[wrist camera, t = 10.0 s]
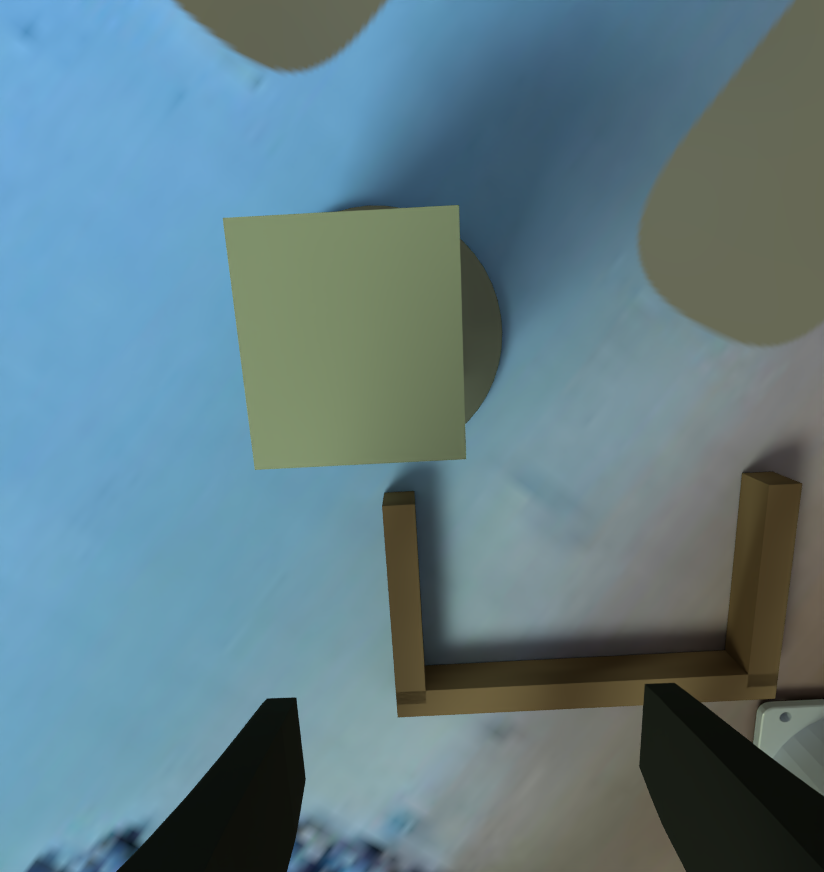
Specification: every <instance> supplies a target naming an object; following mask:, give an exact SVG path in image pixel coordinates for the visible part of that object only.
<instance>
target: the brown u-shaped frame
mask: <svg viewBox="0 0 824 872" xmlns="http://www.w3.org/2000/svg"><path fill="white" fill-rule="evenodd" d="M801 490H802V483H800V482H797V481H795V480H792V479H790V478H787V477H785V476H782V475H780V474H777V473H775V472H755V473H742V480H741V490H740V500H739V511H738V521H737V531H736V541H735V552H734V562H733V572H732V583H731V593H730V603H729V614H728V624H727V634H726V644H725V650H722V651H702V652H682V653H663V654H643V655H623V656H604V657H584V658H564V659H544V660H525V661H505V662H485V663H465V664H446V665H426V666H425V665H424V648H423V631H422V614H421V596H420V579H419V562H418V545H417V527H416V510H415V493H414V491H405V492H387V493H384V498H383V504H382V510H383V524H384V537H385V551H386V564H387V578H388V591H389V605H390V618H391V632H392V645H393V659H394V673H395V686H396V700H397V713H398V717H414V716H434V715H455V714H475V713H495V712H515V711H535V710H555V709H575V708H596V707H616V706H636V705H643V702H644V687H645V684H654V683H676V684H677V685H678V686H680V687H681V688H682V689H684V690H685V691H686V692H688V693H689V694H690V695H692V696H693V697H694V698H695V699H697V700H698V701H699V702H716V701H737V700H757V699H775V696H776V688H777V680H778V672H779V664H780V656H781V648H782V640H783V632H784V624H785V616H786V609H787V601H788V593H789V585H790V577H791V569H792V561H793V553H794V545H795V537H796V529H797V521H798V513H799V505H800V498H801Z"/></svg>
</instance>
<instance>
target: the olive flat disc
mask: <svg viewBox="0 0 824 872" xmlns="http://www.w3.org/2000/svg"><path fill="white" fill-rule="evenodd" d="M379 209H397V207H390V206H362V207H354V208H349V209H345V210H342V211H338V212H343V211H361V210H379ZM460 263H461V298H462V334H463V369H464V405H465V424H466V423H467V422H468V421H469V420H470V418H471V417H472V416H473V415H474V414H475V412H476V411H477V410H478V409H479V407H480V405H481V404H482V402H483V401H484V399H485V397H486V396H487V394H488V392H489V390H490V387H491V385H492V383H493V381H494V378H495V375H496V371H497V368H498V365H499V359H500V354H501V346H502V324H501V314H500V310H499V305H498V300H497V297H496V294H495V291H494V288H493V286H492V283H491V281H490V279H489V277H488V275H487V273H486V271H485V269H484V267H483V266H482V264H481V263H480V262H479V260H478V259H477V257H476V256H475V254H474V253H473V252H472V251H471V250H470V249H469V248H468V246H467V245H466V244H465V243H464V242H463V241H462V240H461V239H460Z"/></svg>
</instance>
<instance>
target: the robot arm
mask: <svg viewBox="0 0 824 872" xmlns="http://www.w3.org/2000/svg"><path fill="white" fill-rule="evenodd" d="M639 767H640V770H641V772H642V775H643V777H644V780H645V783H646V785H647V788H648V790H649V793H650V796H651V798H652V801H653V803H654V806H655V808H656V810H657V813H658V815H659V818H660V820H661V823H662V825H663V827H664V829H665V831H666V833H667V835H668V837H669V839H670V841H671V843H672V845H673V847H674V849H675V851H676V853H677V854H678V856H679V858H680V860H681V862H682V864H683V866H684V868H685V870H686V872H824V699H815V700H795V701H775V702H766V703H763V704H762V705H760V707H759V708H758V710H757V716H756V724H755V733H754V741H753V743H752V742H750V741H749V740H748V739H746V738H745V737H744V736H743V735H741V734H740V733H739V732H738V731H736V730H735V729H734V728H732V727H731V726H730V725H729V724H727V723H726V722H725V721H723V720H722V719H721V718H720V717H718V716H717V715H716V714H715V713H713V712H712V711H711V710H710V709H708V708H707V707H706V706H704V705H703V704H702V703H701V702H699V701H698V700H697V699H695V698H694V697H693V696H692V695H690V694H689V693H688V692H686V691H685V690H684V689H682V688H681V687H680V686H678V685H677V684H676V683H654V684H645V687H644V702H643V718H642V733H641V749H640V765H639ZM305 780H306V778H305V769H304V761H303V752H302V744H301V735H300V726H299V718H298V709H297V700H296V698H271V699H266V700H265V701H264V702H263V703H262V705H261V706H260V707H259V708H258V710H257V711H256V712H255V713H254V715H253V716H252V717H251V719H250V720H249V721H248V722H247V724H246V725H245V726H244V728H243V729H242V730H241V731H240V733H239V734H238V735H237V736H236V738H235V739H234V740H233V741H232V743H231V744H230V745H229V746H228V748H227V749H226V750H225V751H224V753H223V754H222V755H221V756H220V757H219V759H218V760H217V761H216V762H215V763H214V765H213V766H212V767H211V768H210V769H209V771H208V772H207V773H206V774H205V775H204V777H203V778H202V779H201V780H200V781H199V783H198V784H197V785H196V786H195V787H194V788H193V790H192V791H191V792H190V793H189V794H188V795H187V797H186V798H185V799H184V800H183V801H182V802H181V803H180V804H179V805H178V807H177V808H176V809H175V810H174V811H173V812H172V813H171V814H170V815H169V816H168V818H167V819H166V820H165V821H164V822H163V823H162V824H161V825H160V826H159V827H158V829H157V830H156V831H155V832H154V833H153V834H152V835H151V836H150V837H149V838H148V840H147V841H146V842H145V843H144V844H143V845H142V846H141V847H140V848H139V849H138V850H137V851H136V852H135V853H134V854H133V855H132V856H131V857H130V858H129V859H128V860H127V861H126V862H125V863H124V864H123V865H122V866H121V867H120V868H119V869H118V870H117V871H116V872H287V869H288V865H289V861H290V858H291V854H292V850H293V846H294V842H295V838H296V833H297V828H298V822H299V816H300V811H301V804H302V798H303V792H304V786H305Z"/></svg>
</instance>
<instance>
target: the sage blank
mask: <svg viewBox="0 0 824 872" xmlns="http://www.w3.org/2000/svg"><path fill="white" fill-rule="evenodd" d="M223 224H224V231H225V239H226V247H227V255H228V263H229V270H230V278H231V286H232V294H233V302H234V310H235V317H236V325H237V333H238V341H239V349H240V357H241V364H242V372H243V380H244V388H245V396H246V403H247V411H248V419H249V427H250V435H251V443H252V450H253V458H254V466H255V470H259V469H279V468H299V467H319V466H338V465H358V464H378V463H398V462H418V461H438V460H458V459H466V440H465V405H464V369H463V334H462V298H461V263H460V227H459V205H451V206H433V207H415V208H397V209H379V210H361V211H343V212H324V213H306V214H288V215H270V216H252V217H234V218H223Z"/></svg>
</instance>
